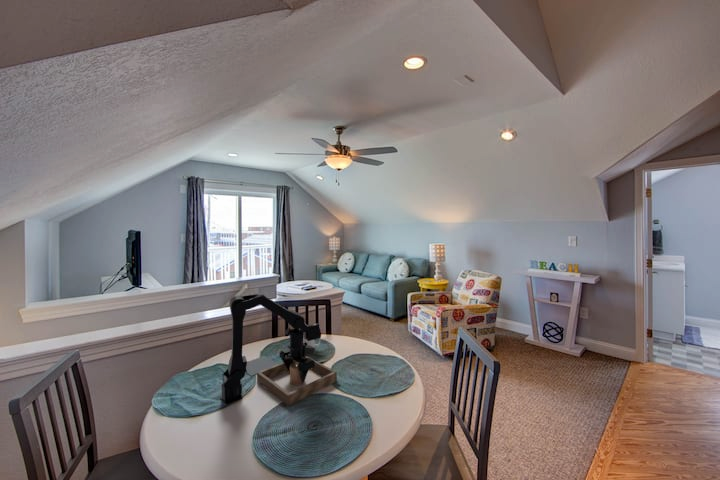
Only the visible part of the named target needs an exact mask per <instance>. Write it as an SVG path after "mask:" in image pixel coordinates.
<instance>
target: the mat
mask: <svg viewBox="0 0 720 480" xmlns="http://www.w3.org/2000/svg"><path fill="white" fill-rule="evenodd" d="M278 364H279V363H277V362H275V361H273V360H272V359H271V358H268V357H267V356H265V355H263V356H259V357H257V358H255V359H251V360H249V361H248V360H247V366H246V370H247V372H245V374H247V375H249V376H250V377H253V376H257V372H259V371H262V370H265V369H267V368H270V367H272V366H275V365H278Z"/></svg>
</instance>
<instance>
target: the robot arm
mask: <svg viewBox="0 0 720 480" xmlns="http://www.w3.org/2000/svg"><path fill="white" fill-rule="evenodd" d="M228 305H229V310H230V316H231V320H232V321H231V322H232V323H231V355H230V357H229V361H228V365H227V369H225V371H224V372H223V373H222V374H221V376H222V383H221V384H220V385H221V395H220V397H219V398H220V400H221V401H223V404H225V405H229V404H231V403H233V402H236V401H238V400H240V399H242V398H243V397H244V396H243V384H242V382H241V380H242V379H244V377H245V375H246V372H247V370H246V366H247V362H248V360H247V358H246V356H245V355H243V342H244V341H243V337H244V329H243V327H244V319H245V317H246V312H247V310H251V309H253V308H255V307H258V306H262V307H263V308H265V309H266V310H268V311H270V312H272V313H274V314H275V315H277V317H280V318H281V319H283V320H284V321H285V322H286V323H287V324H288V325H290V326H291V327H292V328H290V327H288V328H287V329H286V330H285V331H284V334H285V335H286V336H289V344H288V345H287V347H286V348H285V349H282V350H280V352H279V358H280V359H281V361H282V363H284V364H285V366H286V368H287V370H288V371H287V372H288V373H289V375H290V365H291V364H293V361H297V362H299V363H298V367H299V369H298V371H299V375H300V378H301V381H302V382H303V383H304V382H305V381H306V378H307V376H308V372H309V370H312V369H311V368H313V367H315V361H316V360H315V359H313V358H311V357H309V358H306V359H303V357H306V356H307V357H308V356H314V354H315V349H316V347H315V348H314V347H312V346H310V345H307V343H306V342H303V336H304V339H306V340H307V341H311V340H319V339H320V340H321V338H322V332H321V328H320V324H319V323H318V322H317V323H316V322H315V323H313V324H307V323H305V322H306V321H305V318H304V317H303V316H302V315H301V314H300V313H299V312H297V311H294V310H291V309H288V308H285V307H284V306H282V305H280V304H279V303H277V302H276V301H274V300H272V299H270V298H269V297H267V296H266V295H265V294H264V293H262V292H259V293H254V294H247V295H246V294H245V295H234V296H233V297H232V298H230V300H229V304H228ZM310 358H311V359H310ZM312 359H313V360H312ZM314 360H315V361H314Z"/></svg>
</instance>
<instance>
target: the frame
mask: <svg viewBox="0 0 720 480" xmlns="http://www.w3.org/2000/svg"><path fill="white" fill-rule="evenodd" d="M306 358H310V359H312V360H314V361H315V367H313V368H311V369H310V370H313V371H315V372H316V373H318V374H320V375H321V376H322V377H320V378H317V379H316V380H314V381H311V382H308V383H307V384H304V385H302V386H301V387H298V388H297V389H294V390H293V391H290V392H288V391H287V389H284V388H283V387H281V385H279V384H277V382H275V381H273V380H272V379H271V378H273V377H275V376H277V375H281V374H282V373H285V372H288V370H287V368H286V366H285V364H284V363H283V362H280V363H277V364H278V365H275V366H272V367H270V368H267V369H265V370H262V371H259V372H257V374H256V382H257V383H258V384H259V385H261V386H263V388H265V389H266V390H267V391H268V392H270V393H271V394H273V395H274V397H276V398H277V399H279V400H280V401H281V402H282V403H285V405H286V406H288V407H289V406H290V405H292V404H294V403H297V402H298V401H301V400H302V399H304V398H306V397H308V396H310V395H312V394H314V393H315V392H316V393H317V392H318V391H320V390H322V389H324V388H326V387H328V386H330V385H332V384H334V383H335V382H337V380H338V373H337V371H335V370H333V369H332V368H330V367H328V366H326V365H324V364H322V363H321V362H318V361H316V360H315V359H313V358H312V357H310V356H308V355H307V356H306V357H303V359H306ZM296 362H297V361H293V363H296Z"/></svg>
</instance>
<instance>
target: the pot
mask: <svg viewBox="0 0 720 480" xmlns="http://www.w3.org/2000/svg"><path fill="white" fill-rule="evenodd" d="M298 363H299V362H296V363H293V364H291V365H290V374H289V384H290V385H293V386H300V385H301V384H302V385H303V384H304V382H302V381H301V378H300V375H299V371H298V369H299V367H298Z"/></svg>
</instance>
